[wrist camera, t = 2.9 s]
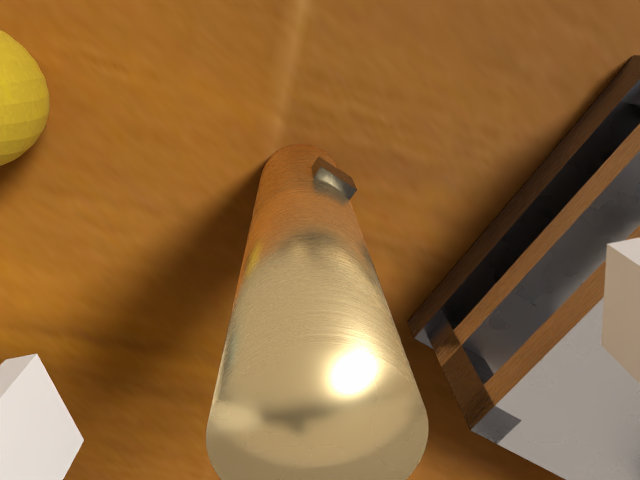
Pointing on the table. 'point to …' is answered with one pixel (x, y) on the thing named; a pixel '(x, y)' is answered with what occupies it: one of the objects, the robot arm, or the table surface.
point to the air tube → (312, 343)
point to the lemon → (20, 100)
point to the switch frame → (550, 304)
